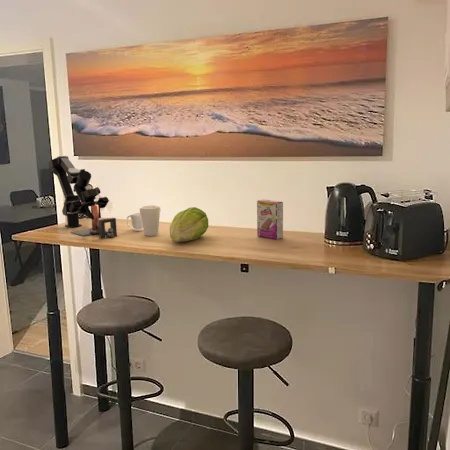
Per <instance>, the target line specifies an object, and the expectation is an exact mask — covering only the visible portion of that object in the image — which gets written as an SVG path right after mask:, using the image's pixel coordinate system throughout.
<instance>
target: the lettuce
mask: <svg viewBox="0 0 450 450" xmlns="http://www.w3.org/2000/svg"><path fill="white" fill-rule="evenodd" d="M208 228H209V218H208V215H207V213H206V212H205V211H204V210H202V209H200V208H198V207H195V206H194V207H188V208H186V209H184V210H182V211H179V212H178V213H177V214H176V215H175V216H174V217H173V219H172V220H171V223H170V225H169V237H170V239H171V241H173V242H189V241H195V240H197V239H199V238H201V237H202V236H203V235H204V234H205V233H206V232H207V230H208Z"/></svg>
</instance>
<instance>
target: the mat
mask: <svg viewBox="0 0 450 450" xmlns="http://www.w3.org/2000/svg"><path fill="white" fill-rule="evenodd" d="M89 229H92V227H90V228H86V229H85V228H83V229H79V230H75V231H74V230H73V231H70V234H74V235H78V236H81V237H86V236H91V235H94V234H93V233H90V232H89ZM105 230H106V231H108V229H105ZM96 234H98V233H96ZM96 234H95V235H96Z"/></svg>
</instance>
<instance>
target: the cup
mask: <svg viewBox="0 0 450 450" xmlns="http://www.w3.org/2000/svg"><path fill="white" fill-rule="evenodd" d="M129 218H130V220H131V225H132V226H131V225H130V224H129ZM126 224H127V227H129V229H131V230H132V231H134V232H141V231H144V229H143V224H142V219H141V213H140V212H133V213H131V214H129V215H127V217H126Z"/></svg>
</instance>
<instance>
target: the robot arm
mask: <svg viewBox="0 0 450 450" xmlns="http://www.w3.org/2000/svg"><path fill="white" fill-rule="evenodd" d="M48 167H49V169H50V170H51V173H52V174H53V175H55V176H57V180H58V182H59V186H60V188H61V190H62V194H63V197H64V202H63V208H62V210H61V212H62V216H66V223H67V224H64V226H65V227H66V228H74V227H76V228H77V227H81V226H83V224H81V223H80V219H79V218H80V217H79V215H81V214H83V215H84V216H86V217H88V218H89V219H91V221H92V220H93V219H94V217H93V215H92V213H91V209H90V208H91V205H98V208H99V219H102V216H101V215H102V214H101V209H105V208H106V207H107V205H108V203H109V202H110V199H109V198H108V197H107V196H102V197H99V198H98V200H96V197H97V196H99V195H100V194H101V189H100V187H99V186H98V187H95V188H88V186H89V185H90V181H91V179H92V174H91V172H89V171H86V169H85V168H81V169H78V168H76V167H75V165H74V164H73V163H72V161H70V159H69V156H68V155H59V156H57V157H55V158H52V159H51V160H50V161H49V164H48ZM72 185H73V188H72ZM74 193H75V194H76V195H75V194H74ZM89 207H90V208H89Z"/></svg>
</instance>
